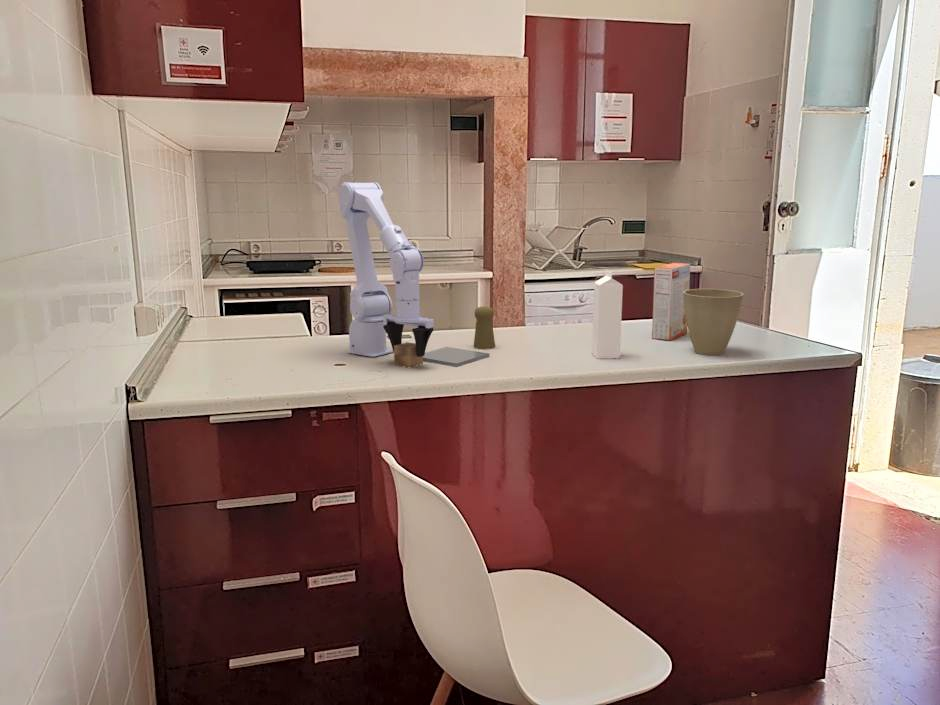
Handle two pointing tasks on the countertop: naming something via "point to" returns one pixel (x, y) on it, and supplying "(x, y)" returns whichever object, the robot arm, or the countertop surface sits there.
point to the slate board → (453, 356)
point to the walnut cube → (406, 355)
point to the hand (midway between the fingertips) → (408, 354)
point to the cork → (484, 328)
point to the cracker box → (670, 300)
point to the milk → (607, 317)
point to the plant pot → (711, 318)
